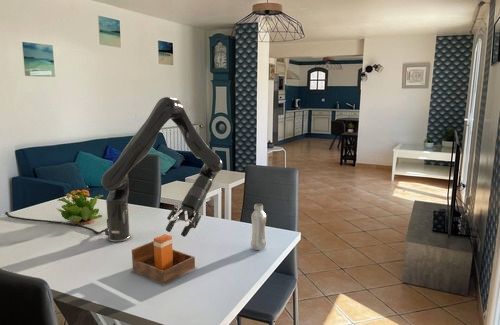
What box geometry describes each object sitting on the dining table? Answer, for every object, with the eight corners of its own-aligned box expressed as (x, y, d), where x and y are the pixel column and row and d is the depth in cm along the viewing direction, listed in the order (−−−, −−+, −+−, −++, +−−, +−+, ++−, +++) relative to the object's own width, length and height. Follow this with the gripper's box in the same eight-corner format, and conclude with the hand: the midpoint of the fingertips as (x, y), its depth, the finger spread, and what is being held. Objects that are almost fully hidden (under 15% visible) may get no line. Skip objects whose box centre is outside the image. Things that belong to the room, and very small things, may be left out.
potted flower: (117, 220, 202) (115, 188, 199) (77, 233, 182) (74, 199, 179) (89, 212, 215) (86, 182, 212) (48, 224, 196) (45, 192, 193)
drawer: (132, 271, 143) (131, 249, 142) (164, 257, 156) (163, 237, 154) (164, 285, 133) (163, 261, 132) (195, 268, 146) (194, 247, 144)
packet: (154, 270, 143) (153, 238, 141) (166, 265, 148) (164, 233, 145) (162, 273, 141) (160, 240, 139) (173, 268, 145) (172, 236, 143)
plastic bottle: (250, 246, 167) (250, 202, 164) (265, 245, 168) (265, 202, 164) (251, 252, 161) (251, 207, 158) (267, 251, 162) (267, 206, 158)
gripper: (177, 191, 156) (157, 225, 149) (203, 196, 148) (182, 232, 140) (187, 200, 161) (167, 234, 154) (212, 206, 153) (193, 241, 146)
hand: (175, 233), depth 147 cm, fingers open, 8 cm apart
